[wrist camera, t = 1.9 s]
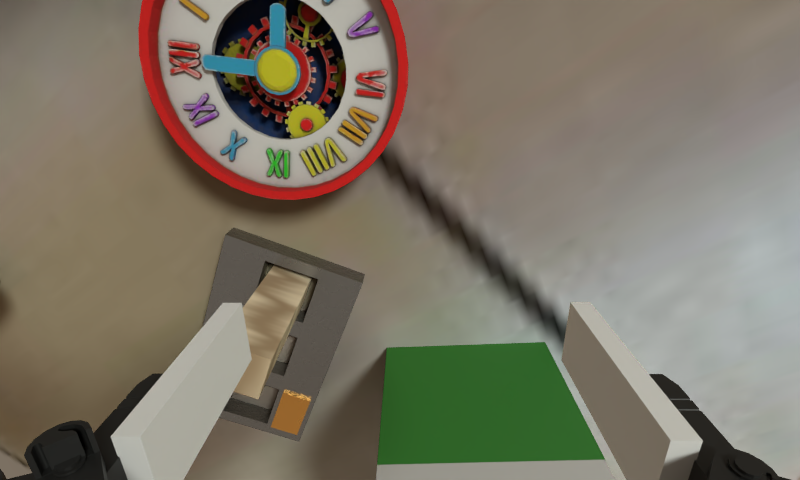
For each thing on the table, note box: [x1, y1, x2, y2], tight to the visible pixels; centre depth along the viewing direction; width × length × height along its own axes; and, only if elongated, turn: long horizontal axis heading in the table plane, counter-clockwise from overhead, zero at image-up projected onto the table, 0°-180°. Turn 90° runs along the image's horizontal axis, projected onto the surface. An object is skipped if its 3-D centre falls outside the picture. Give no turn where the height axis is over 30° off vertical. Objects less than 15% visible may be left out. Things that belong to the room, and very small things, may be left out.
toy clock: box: [139, 0, 408, 200], centre depth 33 cm, size 20×6×20 cm
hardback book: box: [376, 342, 615, 480], centre depth 36 cm, size 18×7×24 cm, turn 93°
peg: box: [233, 264, 312, 399], centre depth 37 cm, size 4×4×14 cm
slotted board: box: [203, 228, 365, 441], centre depth 45 cm, size 14×23×2 cm, turn 159°
